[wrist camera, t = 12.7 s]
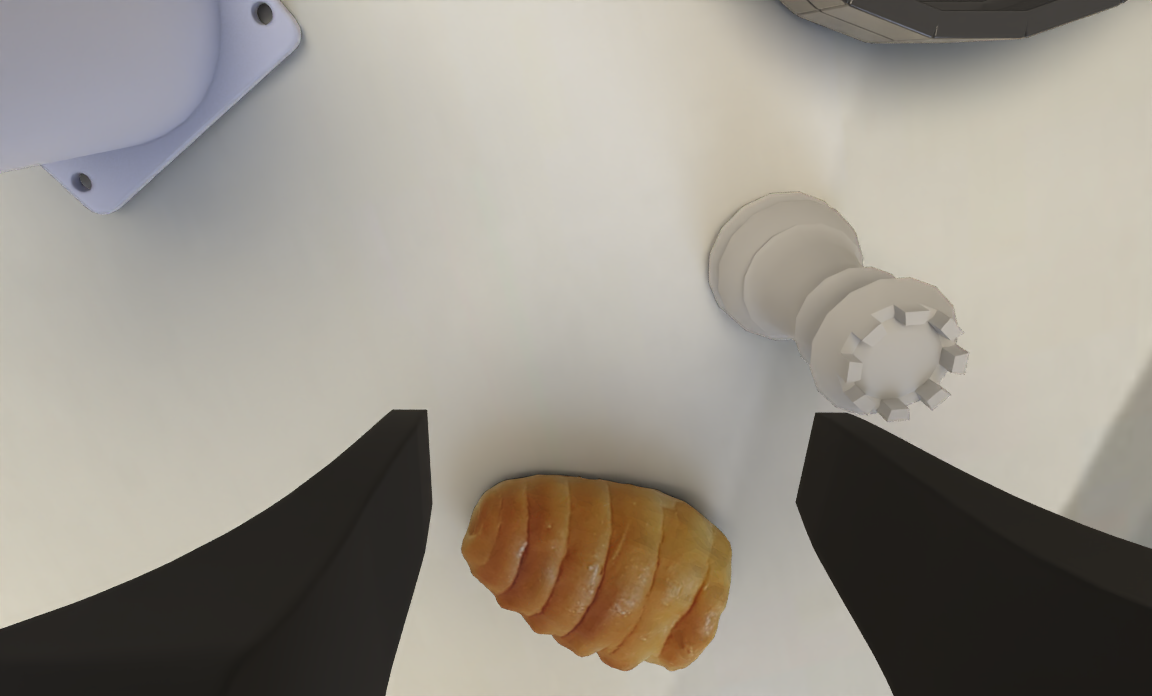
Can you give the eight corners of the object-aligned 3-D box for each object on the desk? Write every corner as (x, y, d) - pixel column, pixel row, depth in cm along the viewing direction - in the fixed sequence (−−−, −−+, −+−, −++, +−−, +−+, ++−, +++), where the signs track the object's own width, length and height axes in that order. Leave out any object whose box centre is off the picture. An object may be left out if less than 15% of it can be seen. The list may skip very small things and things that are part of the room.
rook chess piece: (801, 157, 19) (967, 214, 12) (866, 271, 21) (1048, 383, 13) (677, 247, 20) (759, 351, 13) (748, 349, 22) (858, 495, 14)
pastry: (441, 567, 25) (426, 650, 21) (507, 425, 22) (503, 491, 19) (657, 630, 27) (677, 715, 23) (738, 506, 24) (773, 579, 21)
